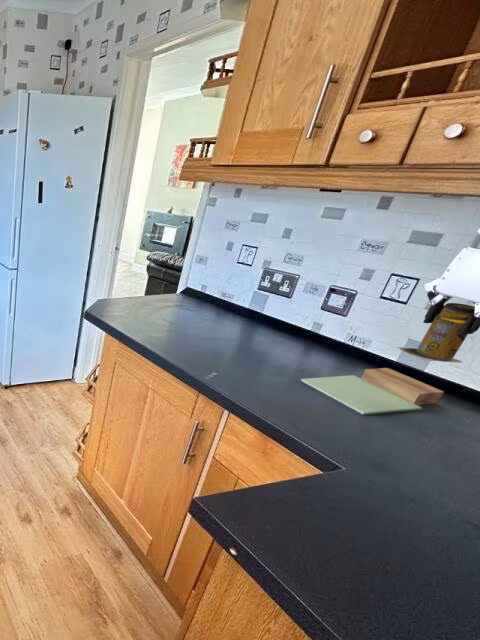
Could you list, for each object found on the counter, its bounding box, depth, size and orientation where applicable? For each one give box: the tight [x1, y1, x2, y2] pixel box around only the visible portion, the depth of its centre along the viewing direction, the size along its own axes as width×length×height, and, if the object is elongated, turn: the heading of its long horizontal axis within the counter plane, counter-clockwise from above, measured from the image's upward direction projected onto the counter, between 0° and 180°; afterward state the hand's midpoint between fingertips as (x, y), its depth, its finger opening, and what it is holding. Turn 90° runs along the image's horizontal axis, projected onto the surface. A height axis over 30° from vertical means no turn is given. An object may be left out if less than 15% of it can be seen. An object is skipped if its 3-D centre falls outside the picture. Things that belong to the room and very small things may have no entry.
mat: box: [300, 374, 423, 416], centre depth 112 cm, size 18×18×1 cm
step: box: [359, 367, 445, 406], centre depth 113 cm, size 8×14×4 cm, turn 10°
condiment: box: [396, 302, 475, 363], centre depth 93 cm, size 7×8×12 cm
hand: (447, 327), depth 92 cm, fingers closed on condiment, 6 cm apart
